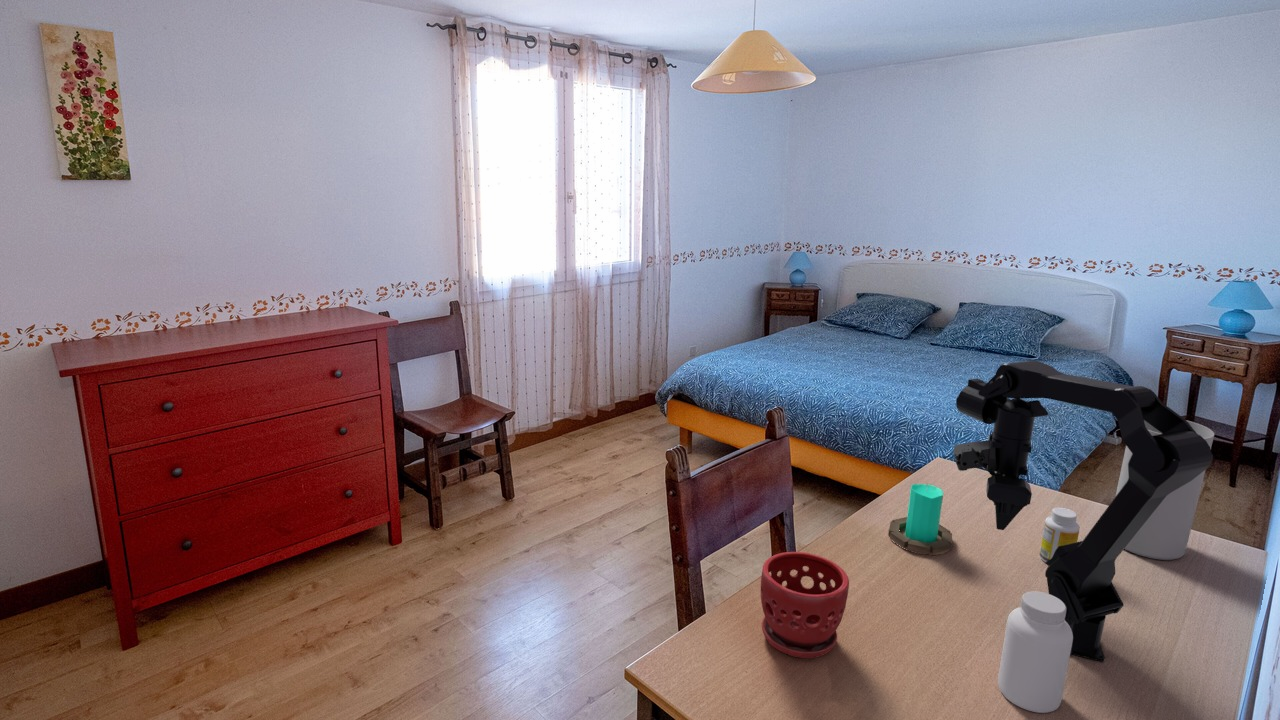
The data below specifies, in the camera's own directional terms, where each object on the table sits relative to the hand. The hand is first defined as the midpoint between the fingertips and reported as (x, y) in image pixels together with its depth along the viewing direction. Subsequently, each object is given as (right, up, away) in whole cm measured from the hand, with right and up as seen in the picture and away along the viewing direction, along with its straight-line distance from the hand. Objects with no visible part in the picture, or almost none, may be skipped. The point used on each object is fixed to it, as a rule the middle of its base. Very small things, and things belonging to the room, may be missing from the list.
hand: (998, 517), depth 121 cm
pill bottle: (-8, -20, -23) cm, 31 cm away
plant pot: (-37, -17, -11) cm, 42 cm away
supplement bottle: (+16, -11, +10) cm, 22 cm away
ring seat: (-7, -8, +18) cm, 21 cm away
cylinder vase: (+37, -9, +16) cm, 42 cm away
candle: (-6, -8, +18) cm, 21 cm away
